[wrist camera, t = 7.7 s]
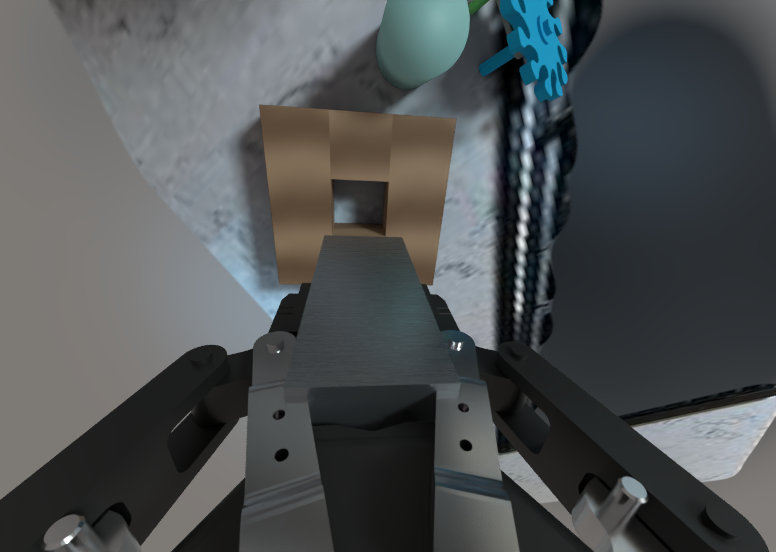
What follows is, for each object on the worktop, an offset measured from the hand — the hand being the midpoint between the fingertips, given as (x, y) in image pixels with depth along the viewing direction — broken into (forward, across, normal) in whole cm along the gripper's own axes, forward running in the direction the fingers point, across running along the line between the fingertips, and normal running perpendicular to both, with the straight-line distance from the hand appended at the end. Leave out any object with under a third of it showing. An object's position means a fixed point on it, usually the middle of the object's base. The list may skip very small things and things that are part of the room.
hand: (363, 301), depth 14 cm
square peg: (+3, 0, 0) cm, 3 cm away
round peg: (+21, -4, -13) cm, 25 cm away
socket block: (+21, 0, 0) cm, 21 cm away
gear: (+21, -13, -15) cm, 29 cm away
